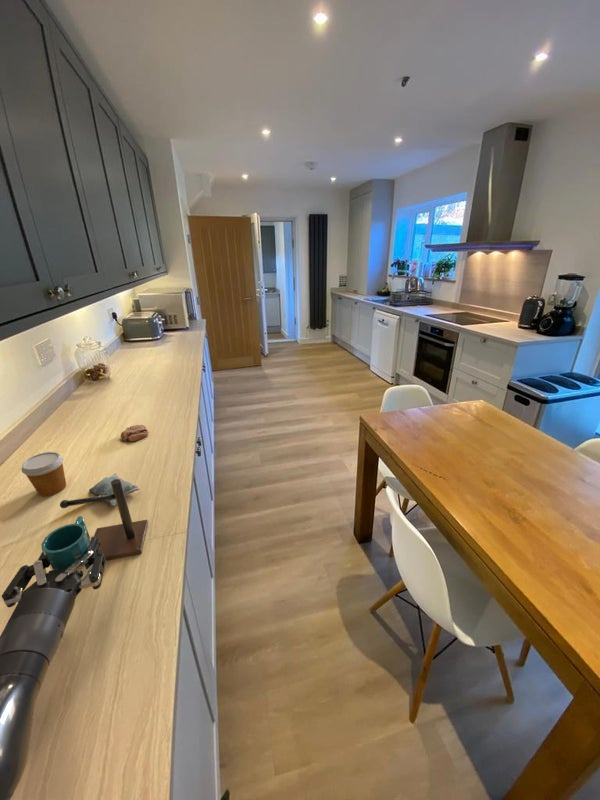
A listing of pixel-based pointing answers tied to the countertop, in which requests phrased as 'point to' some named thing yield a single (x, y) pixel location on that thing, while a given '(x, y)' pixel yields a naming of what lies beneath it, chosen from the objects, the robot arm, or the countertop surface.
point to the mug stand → (117, 526)
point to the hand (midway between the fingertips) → (74, 543)
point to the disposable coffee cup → (45, 473)
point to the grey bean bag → (106, 488)
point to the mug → (66, 545)
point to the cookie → (134, 433)
